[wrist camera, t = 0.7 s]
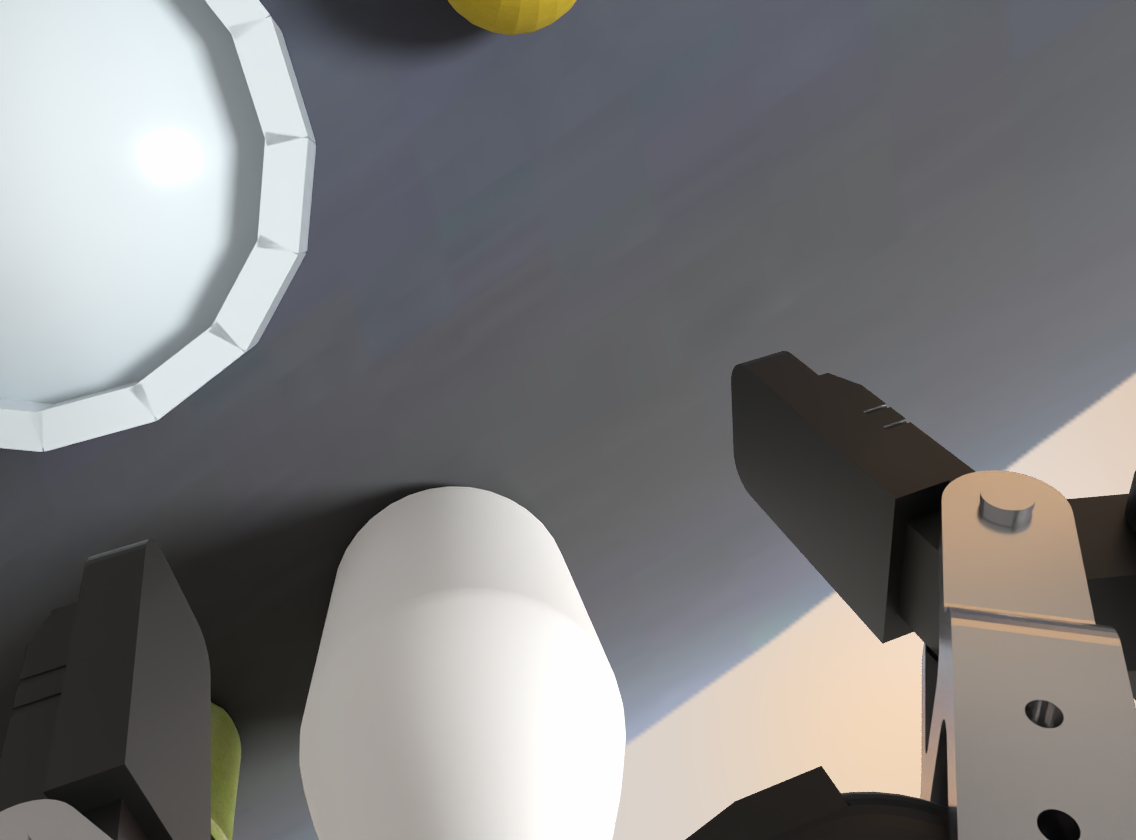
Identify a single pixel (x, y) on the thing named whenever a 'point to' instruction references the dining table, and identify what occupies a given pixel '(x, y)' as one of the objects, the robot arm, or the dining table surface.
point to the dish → (140, 205)
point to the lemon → (512, 14)
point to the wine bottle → (460, 684)
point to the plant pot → (223, 773)
